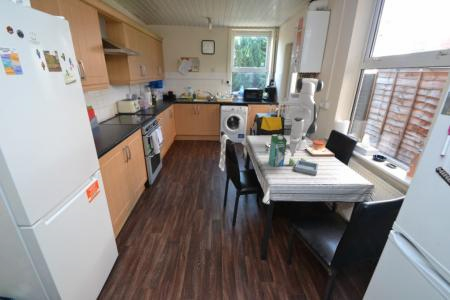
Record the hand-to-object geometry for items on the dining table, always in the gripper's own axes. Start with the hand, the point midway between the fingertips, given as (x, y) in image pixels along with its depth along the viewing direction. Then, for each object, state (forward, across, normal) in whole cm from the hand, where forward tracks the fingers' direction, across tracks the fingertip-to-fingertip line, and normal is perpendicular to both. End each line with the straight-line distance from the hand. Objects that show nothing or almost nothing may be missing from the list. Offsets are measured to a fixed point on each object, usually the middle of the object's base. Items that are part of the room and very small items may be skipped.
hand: (293, 154), depth 169 cm
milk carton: (+10, +4, -12) cm, 16 cm away
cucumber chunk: (+10, -1, 0) cm, 10 cm away
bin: (+10, +1, +12) cm, 15 cm away
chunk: (+10, -10, +8) cm, 16 cm away
